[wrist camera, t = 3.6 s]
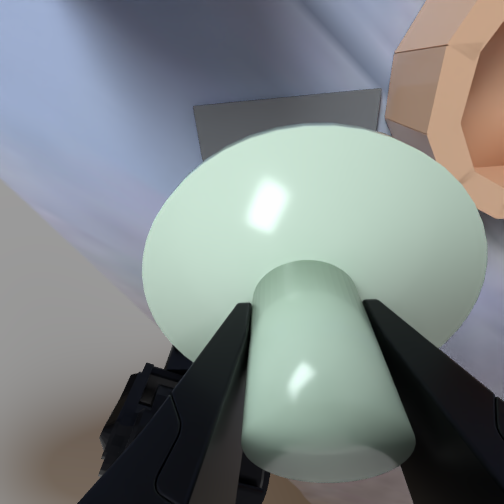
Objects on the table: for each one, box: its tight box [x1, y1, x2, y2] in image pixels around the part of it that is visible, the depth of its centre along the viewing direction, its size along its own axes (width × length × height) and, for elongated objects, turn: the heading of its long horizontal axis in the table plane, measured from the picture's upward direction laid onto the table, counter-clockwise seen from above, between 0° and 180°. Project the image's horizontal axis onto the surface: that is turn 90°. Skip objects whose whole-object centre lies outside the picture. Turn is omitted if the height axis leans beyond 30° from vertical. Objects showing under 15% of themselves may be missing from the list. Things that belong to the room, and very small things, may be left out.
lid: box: [142, 123, 487, 483], centre depth 7 cm, size 10×10×5 cm
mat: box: [193, 88, 382, 161], centre depth 18 cm, size 10×10×1 cm
